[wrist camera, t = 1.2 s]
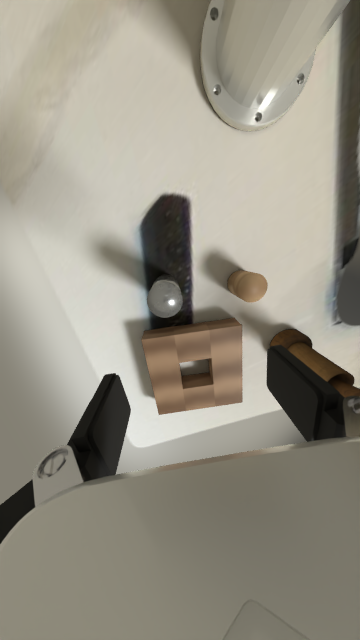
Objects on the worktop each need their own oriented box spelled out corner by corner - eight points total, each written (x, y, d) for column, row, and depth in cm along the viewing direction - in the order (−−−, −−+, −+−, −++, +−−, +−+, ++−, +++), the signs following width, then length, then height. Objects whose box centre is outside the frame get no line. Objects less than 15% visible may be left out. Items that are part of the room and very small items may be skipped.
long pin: (151, 276, 27) (143, 286, 19) (176, 272, 28) (180, 280, 19) (156, 300, 29) (150, 319, 20) (180, 297, 29) (184, 315, 21)
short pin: (226, 272, 28) (238, 275, 23) (251, 268, 28) (268, 271, 23) (227, 296, 29) (238, 304, 25) (251, 293, 29) (266, 300, 25)
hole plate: (144, 330, 31) (141, 339, 27) (234, 317, 31) (241, 325, 27) (159, 400, 36) (159, 414, 33) (235, 389, 36) (242, 402, 33)
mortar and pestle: (266, 359, 34) (360, 460, 17) (272, 329, 32) (387, 411, 15) (299, 358, 35) (421, 455, 18) (307, 328, 32) (456, 407, 16)
